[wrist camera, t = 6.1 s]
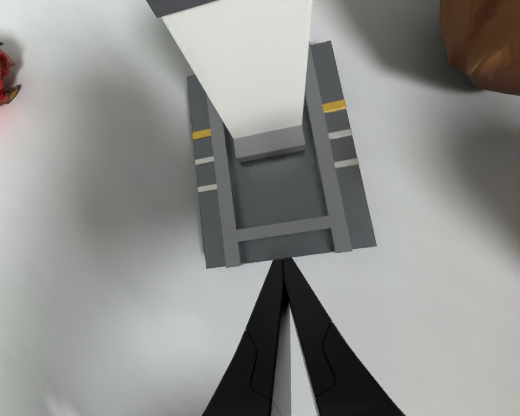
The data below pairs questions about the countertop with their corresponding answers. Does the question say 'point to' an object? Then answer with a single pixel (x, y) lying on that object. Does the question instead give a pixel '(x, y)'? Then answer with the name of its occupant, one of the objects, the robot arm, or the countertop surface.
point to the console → (282, 181)
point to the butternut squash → (484, 41)
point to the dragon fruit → (3, 63)
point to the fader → (248, 66)
